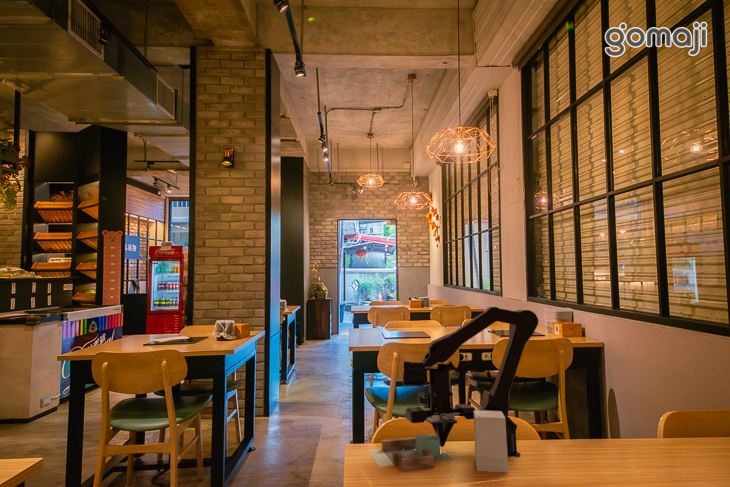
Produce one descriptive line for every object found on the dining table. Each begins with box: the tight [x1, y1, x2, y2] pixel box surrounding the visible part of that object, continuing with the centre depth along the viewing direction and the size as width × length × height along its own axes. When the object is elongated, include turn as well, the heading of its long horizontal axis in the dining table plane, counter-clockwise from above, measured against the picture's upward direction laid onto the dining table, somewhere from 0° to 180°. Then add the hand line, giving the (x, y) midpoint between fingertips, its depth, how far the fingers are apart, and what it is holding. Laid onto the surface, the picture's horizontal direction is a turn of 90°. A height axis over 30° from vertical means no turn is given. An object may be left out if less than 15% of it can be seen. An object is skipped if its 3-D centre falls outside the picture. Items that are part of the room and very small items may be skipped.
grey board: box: [367, 448, 455, 468], centre depth 114 cm, size 20×12×1 cm, turn 103°
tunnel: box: [381, 436, 435, 472], centre depth 112 cm, size 10×16×3 cm, turn 13°
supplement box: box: [473, 410, 509, 473], centre depth 106 cm, size 7×7×13 cm
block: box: [414, 433, 441, 456], centre depth 115 cm, size 5×5×4 cm
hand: (441, 446), depth 116 cm, fingers closed
